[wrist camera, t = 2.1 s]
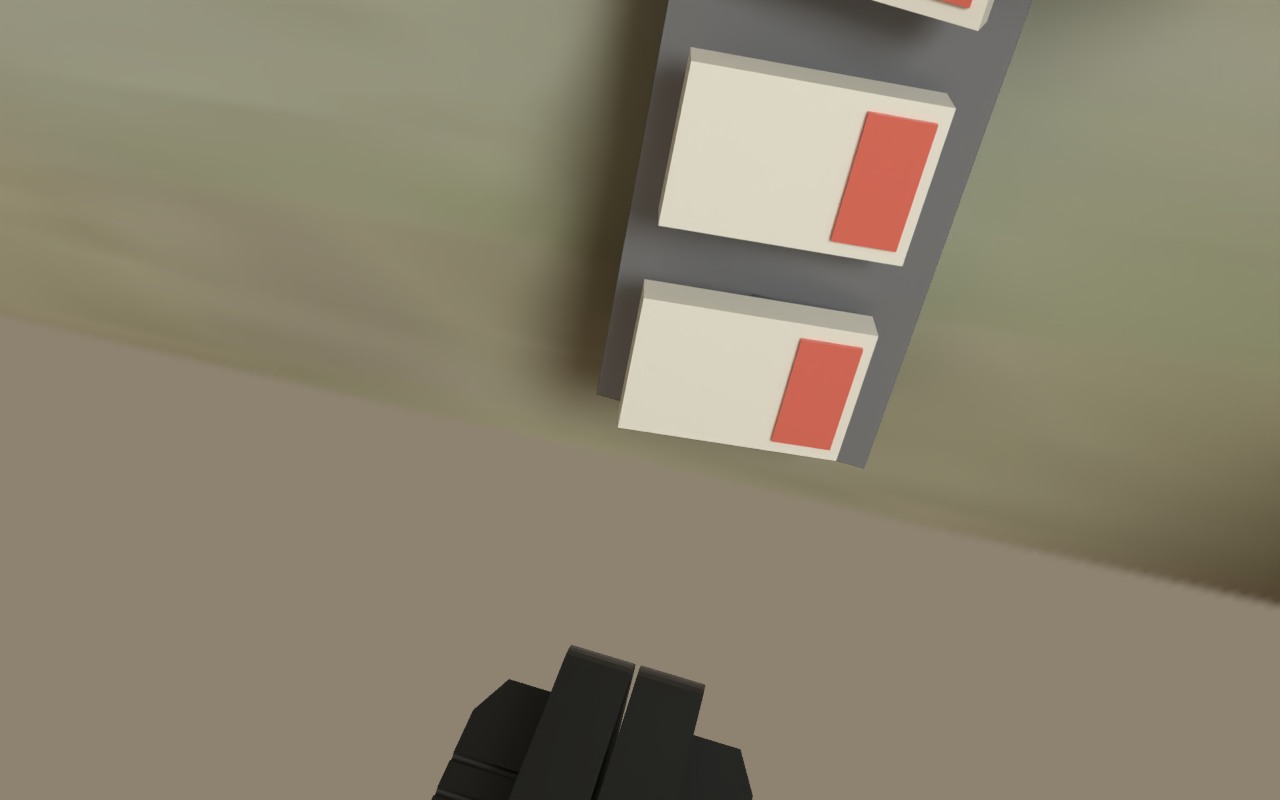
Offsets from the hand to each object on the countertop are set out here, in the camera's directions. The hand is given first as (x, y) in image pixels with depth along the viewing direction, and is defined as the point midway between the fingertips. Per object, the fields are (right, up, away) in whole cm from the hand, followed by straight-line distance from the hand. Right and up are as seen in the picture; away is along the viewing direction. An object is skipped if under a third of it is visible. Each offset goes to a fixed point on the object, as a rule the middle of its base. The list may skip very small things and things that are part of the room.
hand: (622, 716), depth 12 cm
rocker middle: (+4, +9, +14) cm, 17 cm away
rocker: (+3, +4, +18) cm, 18 cm away
